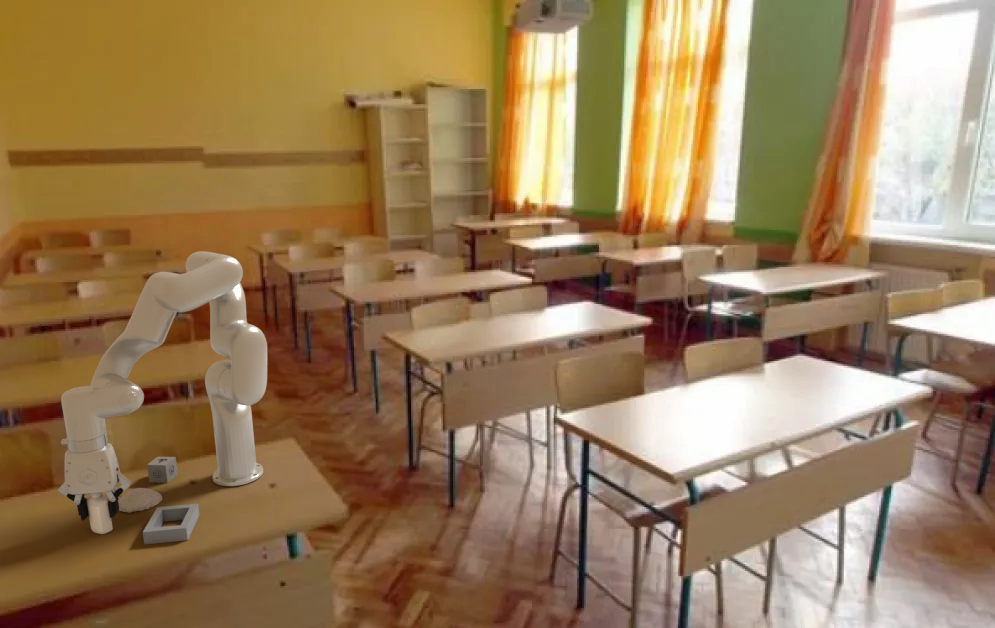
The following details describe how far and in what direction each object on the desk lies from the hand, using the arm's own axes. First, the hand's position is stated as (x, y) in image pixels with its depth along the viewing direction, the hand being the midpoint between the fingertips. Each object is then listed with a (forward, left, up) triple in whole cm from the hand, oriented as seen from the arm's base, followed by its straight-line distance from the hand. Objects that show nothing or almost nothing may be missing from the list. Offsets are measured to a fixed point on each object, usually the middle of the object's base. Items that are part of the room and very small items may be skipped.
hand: (99, 515), depth 158 cm
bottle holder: (+3, +16, -3) cm, 17 cm away
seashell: (-12, +5, -4) cm, 13 cm away
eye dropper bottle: (0, 0, -4) cm, 4 cm away
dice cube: (-25, +7, -4) cm, 26 cm away
